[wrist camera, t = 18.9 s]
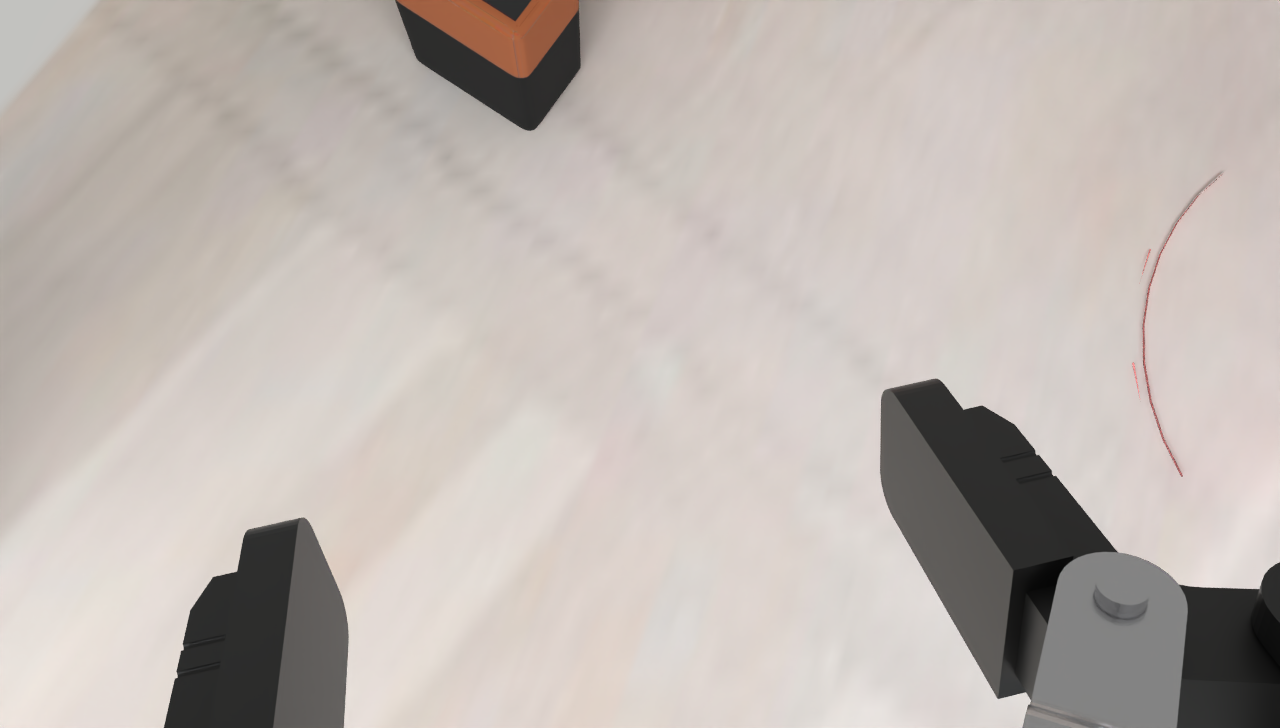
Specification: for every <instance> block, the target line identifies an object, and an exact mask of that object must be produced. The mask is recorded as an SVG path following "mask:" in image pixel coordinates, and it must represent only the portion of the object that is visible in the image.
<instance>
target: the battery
mask: <svg viewBox="0 0 1280 728" xmlns="http://www.w3.org/2000/svg"><path fill="white" fill-rule="evenodd" d="M395 1H396V3H397V6H398V9H399V12H400V14H401V17H402V20H403V23H404V26H405V28H406V31H407V34H408V37H409V39H410V42H411V45H412V48H413V50H414V53H415V56H416V58H417V59H418V61H420V62H421V63H422V64H424V65H425V66H427V67H428V68H430V69H431V70H433V71H434V72H436V73H437V74H439V75H440V76H442V77H444V78H445V79H447V80H448V81H450V82H451V83H453V84H454V85H456V86H457V87H459V88H461V89H462V90H464V91H465V92H467V93H468V94H470V95H471V96H473V97H474V98H476V99H477V100H479V101H481V102H482V103H484V104H485V105H487V106H488V107H490V108H491V109H493V110H494V111H496V112H498V113H499V114H501V115H502V116H504V117H505V118H507V119H508V120H510V121H511V122H513V123H515V124H516V125H518V126H519V127H521V128H523V129H525V130H529V131H531V130H534V129H535V128H537V126H538V125H539V124H540V122H541V121H542V120H543V118H544V117H545V116H546V114H547V113H548V112H549V110H550V109H551V107H552V106H553V105H554V103H555V102H556V101H557V99H558V98H559V97H560V95H561V94H562V93H563V91H564V90H565V88H566V87H567V86H568V84H569V83H570V82H571V80H572V79H573V78H574V76H575V75H576V73H577V72H578V71H579V69H580V31H579V0H395Z"/></svg>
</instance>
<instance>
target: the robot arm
mask: <svg viewBox="0 0 1280 728" xmlns="http://www.w3.org/2000/svg"><path fill="white" fill-rule="evenodd" d="M880 474H881V482H882V488H883V492H884V496H885V499H886V502H887V505H888V508H889V510H890V512H891V514H892V516H893V518H894V520H895V521H896V523H897V525H898V527H899V528H900V530H901V532H902V534H903V535H904V537H905V539H906V540H907V542H908V544H909V546H910V547H911V549H912V551H913V553H914V554H915V556H916V558H917V560H918V561H919V563H920V565H921V566H922V568H923V570H924V572H925V573H926V575H927V577H928V579H929V580H930V582H931V584H932V586H933V587H934V589H935V591H936V592H937V594H938V596H939V598H940V599H941V601H942V603H943V605H944V606H945V608H946V610H947V612H948V613H949V615H950V617H951V619H952V620H953V622H954V624H955V625H956V627H957V629H958V631H959V632H960V634H961V636H962V638H963V639H964V641H965V643H966V645H967V646H968V648H969V650H970V651H971V653H972V655H973V657H974V658H975V660H976V662H977V664H978V665H979V667H980V669H981V671H982V672H983V674H984V676H985V677H986V679H987V681H988V683H989V684H990V686H991V688H992V690H993V691H994V693H995V695H996V697H997V698H998V699H1000V698H1004V697H1008V696H1012V695H1016V694H1020V693H1024V692H1026V693H1027V694H1028V696H1029V698H1030V699H1031V703H1030V705H1028V708H1027V711H1026V715H1025V719H1024V724H1023V728H1280V563H1277V564H1275V565H1274V566H1273V567H1271V568H1270V569H1269V570H1268V571H1267V572H1266V574H1265V575H1264V577H1263V580H1262V583H1261V586H1260V589H1233V588H1201V587H1189V586H1184V585H1178V583H1177V582H1176V581H1175V580H1174V579H1173V578H1172V577H1171V576H1170V575H1169V574H1168V573H1167V572H1165V571H1164V570H1162V569H1161V568H1160V567H1158V566H1156V565H1154V564H1153V563H1151V562H1149V561H1146V560H1144V559H1141V558H1139V557H1136V556H1132V555H1129V554H1123V553H1118V552H1117V551H1116V550H1115V549H1114V547H1113V546H1112V545H1111V544H1110V542H1109V541H1108V540H1107V539H1106V537H1105V536H1104V535H1103V534H1102V532H1101V531H1100V530H1099V529H1098V527H1097V526H1096V525H1095V524H1094V523H1093V521H1092V520H1091V519H1090V518H1089V516H1088V515H1087V514H1086V513H1085V511H1084V510H1083V509H1082V508H1081V506H1080V505H1079V504H1078V503H1077V501H1076V500H1075V499H1074V498H1073V497H1072V495H1071V494H1070V493H1069V492H1068V490H1067V489H1066V488H1065V487H1064V485H1063V484H1062V483H1061V482H1060V480H1059V479H1058V478H1057V477H1056V476H1053V475H1052V470H1051V469H1050V468H1049V467H1048V466H1047V464H1046V463H1045V462H1044V461H1043V459H1042V458H1041V457H1040V456H1039V455H1036V453H1035V449H1034V448H1033V447H1032V446H1031V444H1030V443H1029V442H1028V441H1027V440H1026V438H1025V437H1024V436H1023V435H1022V433H1021V432H1020V431H1019V430H1018V428H1017V427H1016V426H1015V425H1014V424H1012V423H1011V422H1009V421H1007V420H1006V419H1004V418H1002V417H1001V416H999V415H997V414H996V413H994V412H992V411H991V410H989V409H987V408H986V407H984V406H978V407H974V408H969V409H965V410H963V409H962V407H961V406H960V405H959V403H958V402H957V401H956V399H955V398H954V397H953V395H952V394H951V393H950V391H949V390H948V389H947V387H946V386H945V385H944V384H943V383H942V382H941V381H940V380H938V379H931V380H927V381H922V382H918V383H913V384H909V385H904V386H900V387H895V388H891V389H886V390H885V391H884V392H883V394H882V399H881V454H880ZM183 646H184V650H183V651H181V655H180V659H179V663H178V668H177V674H178V678H176V679H175V681H174V686H173V690H172V694H171V699H170V703H169V708H168V712H167V717H166V721H165V725H164V728H344V711H345V694H346V676H347V658H348V623H347V617H346V611H345V607H344V603H343V599H342V596H341V594H340V591H339V589H338V587H337V584H336V582H335V580H334V577H333V575H332V573H331V570H330V568H329V566H328V563H327V561H326V559H325V556H324V554H323V552H322V550H321V547H320V545H319V543H318V540H317V538H316V536H315V533H314V531H313V529H312V527H311V525H310V523H309V522H308V520H307V519H305V518H298V519H294V520H289V521H285V522H280V523H276V524H271V525H267V526H262V527H258V528H254V529H249V530H247V532H246V533H245V535H244V538H243V543H242V549H241V554H240V560H239V565H238V571H237V572H234V573H229V574H225V575H221V576H216V577H213V578H212V580H211V581H210V583H209V584H208V585H207V587H206V588H205V590H204V591H203V593H202V594H201V596H200V597H199V599H198V600H197V602H196V603H195V605H194V606H193V607H192V609H191V610H190V615H189V619H188V624H187V628H186V632H185V637H184V641H183Z"/></svg>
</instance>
